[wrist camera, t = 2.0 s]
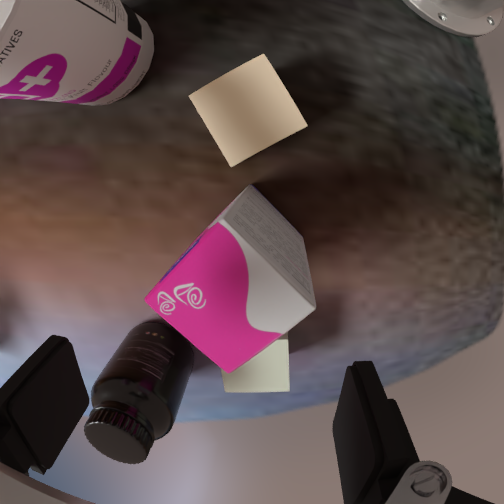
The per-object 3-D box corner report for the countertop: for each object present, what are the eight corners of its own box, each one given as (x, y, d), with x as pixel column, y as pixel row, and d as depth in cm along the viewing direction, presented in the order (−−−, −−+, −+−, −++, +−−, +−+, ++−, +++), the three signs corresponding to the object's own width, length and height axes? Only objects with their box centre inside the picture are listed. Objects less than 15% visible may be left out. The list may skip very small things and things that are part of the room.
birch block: (266, 71, 21) (263, 53, 16) (301, 129, 22) (307, 125, 17) (206, 104, 22) (188, 96, 17) (240, 162, 23) (231, 167, 18)
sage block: (286, 305, 27) (288, 339, 22) (288, 353, 28) (289, 391, 23) (226, 307, 27) (216, 341, 22) (232, 355, 29) (225, 392, 24)
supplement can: (152, 103, 22) (11, 74, 8) (65, 109, 22) (-80, 111, 8) (164, 8, 19) (60, -88, 5) (77, 23, 19) (-48, -24, 5)
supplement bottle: (192, 384, 30) (161, 482, 19) (128, 366, 30) (79, 453, 19) (199, 328, 28) (160, 432, 16) (127, 310, 28) (61, 397, 16)
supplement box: (249, 180, 23) (225, 213, 13) (304, 236, 24) (325, 312, 14) (195, 233, 25) (139, 302, 14) (250, 285, 26) (232, 381, 15)
